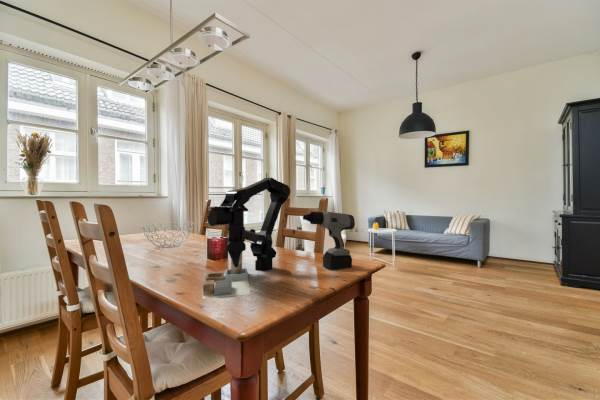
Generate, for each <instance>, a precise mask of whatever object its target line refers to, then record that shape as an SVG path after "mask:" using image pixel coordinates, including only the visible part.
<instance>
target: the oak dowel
mask: <svg viewBox="0 0 600 400" xmlns="http://www.w3.org/2000/svg"><path fill="white" fill-rule="evenodd" d="M242 268H243V252H242V253H241V254H240V259H239V264H238V267H235V266H234V264H233V262H232V259H231V258H230V269H231V274H232V275H233V274H242Z"/></svg>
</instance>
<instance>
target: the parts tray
mask: <svg viewBox="0 0 600 400" xmlns="http://www.w3.org/2000/svg"><path fill="white" fill-rule="evenodd" d="M224 274H225V280H231V279H232V281H237V280H248V281H249V274H248V268H247V267H245V268H244V267H242V274H233V275H232V274H231V268H229V269H225V271H224Z"/></svg>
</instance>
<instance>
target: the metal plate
mask: <svg viewBox="0 0 600 400" xmlns="http://www.w3.org/2000/svg"><path fill="white" fill-rule="evenodd" d="M231 294H232V279H231V280H219V281H216V283H215V296H220V295H231Z"/></svg>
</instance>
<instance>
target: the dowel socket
mask: <svg viewBox="0 0 600 400" xmlns="http://www.w3.org/2000/svg"><path fill="white" fill-rule="evenodd" d="M224 274H225V271H223V272H209V273H207V274H206V277H205V281H208V280H214V282H216V281H219V280H224Z"/></svg>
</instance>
